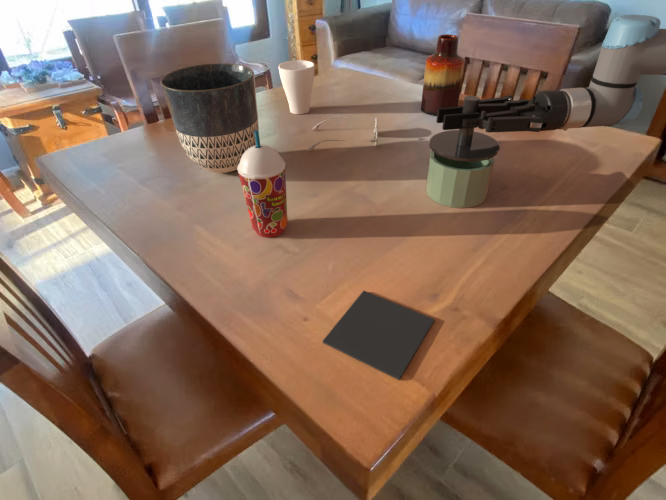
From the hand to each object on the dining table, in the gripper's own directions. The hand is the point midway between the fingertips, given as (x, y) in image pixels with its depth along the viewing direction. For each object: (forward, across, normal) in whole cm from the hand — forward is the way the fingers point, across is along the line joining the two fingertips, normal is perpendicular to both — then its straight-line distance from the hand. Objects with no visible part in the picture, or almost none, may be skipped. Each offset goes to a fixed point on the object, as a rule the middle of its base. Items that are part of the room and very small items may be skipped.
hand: (441, 119), depth 81 cm
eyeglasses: (+14, +31, -17) cm, 38 cm away
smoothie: (+34, -7, -17) cm, 39 cm away
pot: (-5, 0, -17) cm, 17 cm away
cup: (+24, +55, -17) cm, 62 cm away
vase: (-18, +47, -17) cm, 53 cm away
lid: (-5, 0, -6) cm, 8 cm away
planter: (+45, +21, -17) cm, 52 cm away
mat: (+19, -35, -17) cm, 44 cm away
